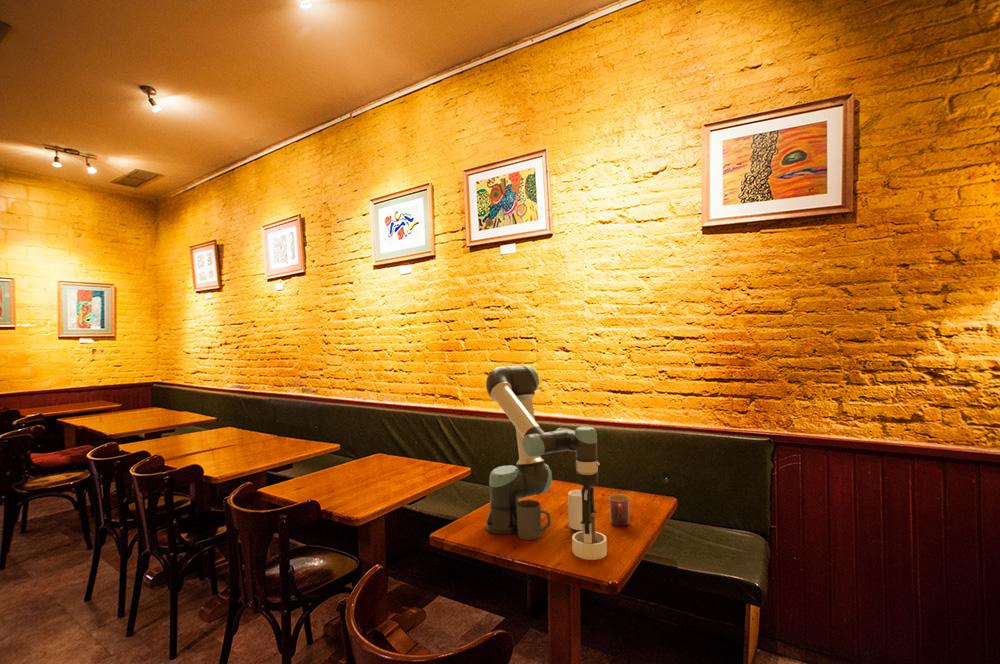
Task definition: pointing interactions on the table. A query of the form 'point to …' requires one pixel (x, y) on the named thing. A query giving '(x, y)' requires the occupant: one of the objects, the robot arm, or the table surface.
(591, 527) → the tall brown wooden block
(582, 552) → the white round bowl
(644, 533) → the table surface
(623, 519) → the mug
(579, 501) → the cup
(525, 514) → the mug
